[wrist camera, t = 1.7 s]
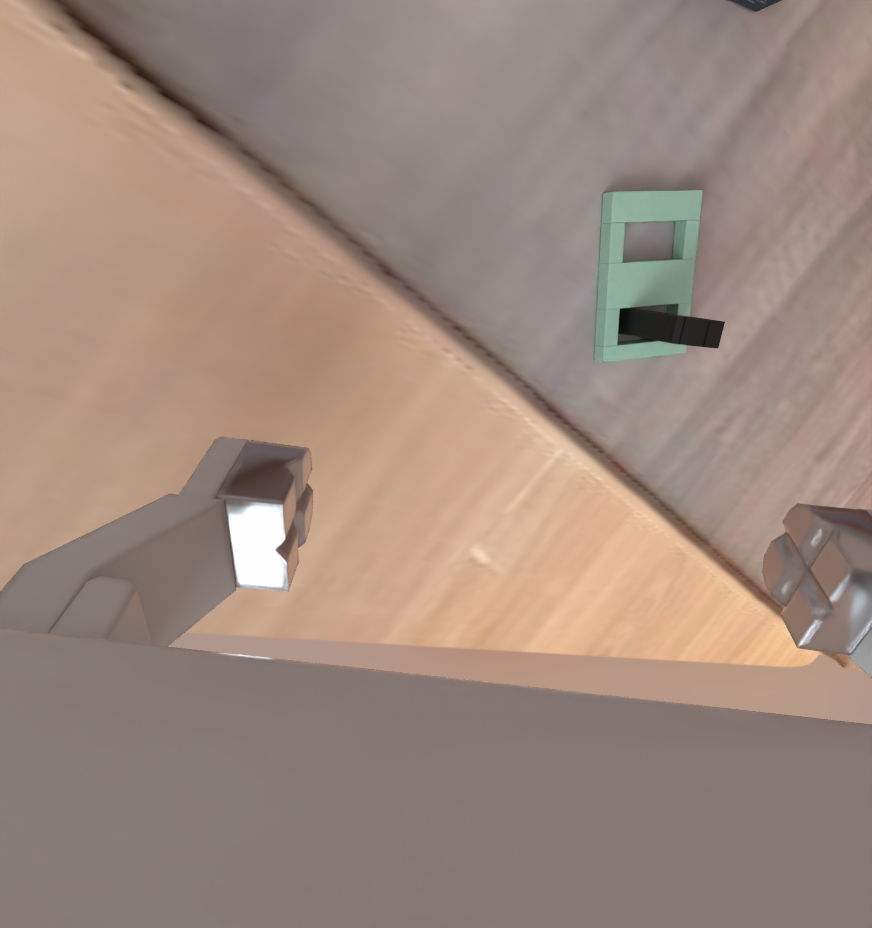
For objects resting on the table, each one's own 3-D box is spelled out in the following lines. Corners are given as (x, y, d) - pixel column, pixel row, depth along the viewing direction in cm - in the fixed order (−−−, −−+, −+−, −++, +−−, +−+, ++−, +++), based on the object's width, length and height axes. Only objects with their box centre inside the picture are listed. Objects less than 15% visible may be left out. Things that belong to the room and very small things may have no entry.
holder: (602, 192, 51) (613, 191, 50) (691, 191, 54) (703, 189, 52) (593, 359, 56) (603, 362, 55) (675, 350, 59) (686, 353, 57)
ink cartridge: (612, 332, 56) (671, 345, 49) (618, 306, 55) (678, 315, 48) (656, 337, 58) (719, 350, 50) (662, 312, 57) (727, 322, 50)
